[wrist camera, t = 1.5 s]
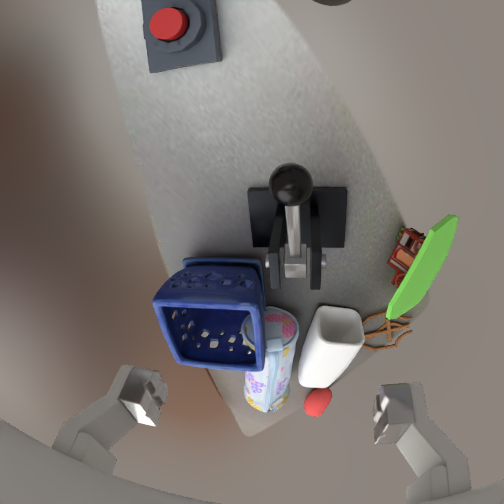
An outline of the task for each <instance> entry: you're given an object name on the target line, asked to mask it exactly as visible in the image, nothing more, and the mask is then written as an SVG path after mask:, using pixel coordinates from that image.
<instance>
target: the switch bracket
mask: <svg viewBox="0 0 504 504" xmlns="http://www.w3.org/2000/svg"><path fill="white" fill-rule="evenodd" d="M247 193H248V203H249V212H250V221H251V231H252V240H253V247H269V251H268V254H266V259H265V264H266V268H269V272H270V286H271V289H280V288H281V280H282V271H283V263H284V248H285V244H288V233H287V222H286V212H285V206H284V205H282V204H280V203H278V202H277V201H276V200H275V199H274V198H273V197H272V195H271V193H270V190H269V188H249V189H248V191H247ZM346 207H347V189H346V187H313V190H312V193H311V195H310V197H309V198H308V199H307V200H306V201H305V202H304V203H302V204H301V205H300V227H301V244H307V247H310V289H312V290H320V285H321V268H326V255H325V254H322V247H328V248H344V240H345V225H346Z"/></svg>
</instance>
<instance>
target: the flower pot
mask: <svg viewBox="0 0 504 504" xmlns="http://www.w3.org/2000/svg"><path fill="white" fill-rule="evenodd" d="M182 263H183V268H184V269H182V270H181V271H179V272H177V273H176V274H174V275H173V276H172V277H170V278H169V279H168V280H167V281H166V282H165V283H164V284H163V285H162V287H161V288H160V289H159V291H158V292H157V293H156V295H155V296H154V298H153V301H152V302H153V306H154V310H155V313H156V315H157V318H158V321H159V324H160V327H161V330H162V332H163V335H164V337H165V339H166V341H167V343H168V346H169V348H170V350H171V352H172V354H173V356H174V358H175V360H176V361H177V363H179V364H183V365H189V366H196V367H203V368H211V369H222V370H234V371H247V372H260V371H262V370H263V369H264V366H265V319H264V312H265V311H266V306H265V291H264V280H263V270H262V264H261V261H260V260H259V259H254V258H217V257H192V258H185V259H184V260H183V262H182ZM182 311H183V314H182ZM173 312H175V317H174V319H172V314H173ZM249 314H251V318H252V324H253V334H254V347H255V351H254V350H253V349H251V348H250V347H249V346H247V345H242V343H243V337H242V334H239V332H240V331H241V326H242V323H243V320H244V319H245V318H246V317H247V316H248V315H249ZM189 323H190V324H191V326H190V328H189V330H188V328H187V326H188V324H189ZM204 331H205V332H208V333H209V335H208V336H207V337H205V338H204V337H202V336H201V334H202V333H203V332H204ZM221 333H224V334H223V335H220V334H221ZM183 335H184V340H183V339H182V336H183ZM231 337H234V338H236V340H235V342H234V343H231V342H228V341H229V339H230V338H231ZM192 338H194V340H192ZM211 341H218V342H219V343H218V347H216V348H210V342H211ZM197 345H200V347H199V348H197V347H196V346H197ZM230 349H233V351H229V350H230ZM249 352H251V353H250V354H248V353H249Z"/></svg>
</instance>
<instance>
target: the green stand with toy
mask: <svg viewBox="0 0 504 504" xmlns="http://www.w3.org/2000/svg"><path fill="white" fill-rule="evenodd" d="M458 219H459V217H457V216H455V215H448V216H447V217H445V218H444V219H443V220H441V221H440V222H439V223H438V224H436V225H435V226H434V227H432V228H431V229H430V231H429V233H428V235H427V237H425V236H424V233H419V232H418V231H416V230H415V229H413V228H410V229H406V228H403V227H402V228H401V230H402V231H400V232H399V235H400V236H401V237H398V236H397V238H396V239H397V240H398V242H397V245H396V247H395V249H394V251H393V253H392V255H391V256H390V258H389V260H388V261H387V264H388V265H390V266H391V267H393V268H394V269H395V270H397V271H396V272H395V274H394V275H393V277H392V279H391V283H392V285H394V284H396V286H397V288H398V290H397V291H396V293H395V295H394V296H393V298H392V299H391V301H390V303H389V304H388V309H387V314H386V317H387V318H388V319H389V320H390V319H395V318H398V317H399V316H401V315H402V314H404V313H405V312H407V311H408V310H410V309H411V308H413V307H414V306H415V305H417V304H418V303H419V302H420V301H421V300H422V298H423V297H424V295H425V294H426V292H427V290H428V289H429V287H430V285H431V284H432V282H433V280H434V279H435V277H436V275H437V274H438V271H439V270H440V268H441V267H442V265H443V263H444V261H445V259H446V257H447V254H448V252H449V250H450V247H451V244H452V242H453V239H454V235H455V231H456V227H457V224H458ZM401 281H402V282H401ZM398 283H400V286H399V285H398Z"/></svg>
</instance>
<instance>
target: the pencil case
mask: <svg viewBox="0 0 504 504" xmlns="http://www.w3.org/2000/svg"><path fill="white" fill-rule="evenodd" d="M264 319H265V366H264V369H263V370H262V371H260V372H247V371H245V380H246V382H245V385H244V394H245V398H246V400H247V401H248V403H249V404H250V405H251V406H253V407H254V408H256V409H258V410H260V411H264V412H266V413H268V412H269V411H273V412H275V411H276V410H277V409H279V408H280V407H281V406H282V405H283V404H284V403H285V401H286V400H287V398H288V396H289V392H290V387H289V380H290V377H291V371H292V363H293V358H294V354H295V346H296V341H297V339H298V336H299V324H298V322H297V320H296V318H295V317H294V316H293V315H292V314H291V313H289V312H287V311H285V310H283V309H280V308H277V307H273V306H266V311H265V312H264ZM241 334H242V337H243V340H244V345H247V346H249V347H250V348H251V349H253V350H254V351H255V347H254V334H253V324H252V318H251V314H249V315H248V316H247V317H246V318H245V319H244V320H243V323H242V326H241ZM250 353H251V352H249V353H248V354H250Z"/></svg>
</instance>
